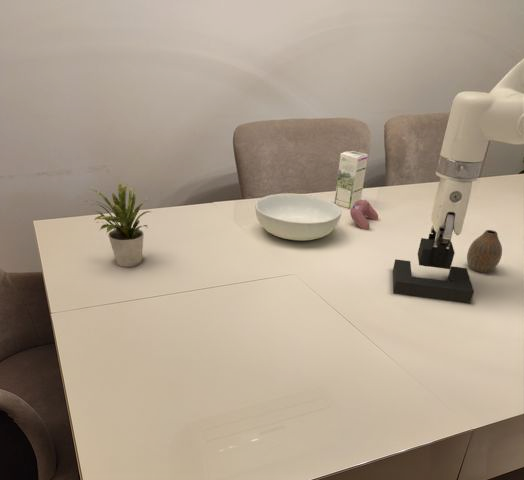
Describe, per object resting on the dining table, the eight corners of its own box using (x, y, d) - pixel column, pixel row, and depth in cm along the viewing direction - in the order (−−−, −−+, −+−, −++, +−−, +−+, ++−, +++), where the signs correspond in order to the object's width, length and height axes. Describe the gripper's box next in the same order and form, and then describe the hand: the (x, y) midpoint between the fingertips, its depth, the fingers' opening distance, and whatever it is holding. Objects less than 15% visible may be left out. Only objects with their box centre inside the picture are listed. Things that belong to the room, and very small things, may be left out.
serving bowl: (263, 252, 114) (265, 223, 110) (247, 220, 131) (248, 193, 127) (349, 248, 118) (354, 220, 114) (323, 218, 135) (326, 192, 131)
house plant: (88, 250, 110) (76, 174, 101) (151, 243, 115) (144, 171, 106) (96, 278, 100) (83, 196, 90) (164, 269, 104) (159, 191, 95)
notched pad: (462, 280, 107) (466, 268, 105) (469, 305, 98) (474, 291, 96) (392, 271, 109) (395, 259, 107) (392, 294, 100) (395, 281, 98)
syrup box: (360, 205, 146) (369, 153, 137) (349, 210, 142) (357, 156, 134) (344, 200, 149) (351, 149, 140) (333, 205, 145) (340, 152, 137)
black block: (447, 257, 104) (451, 241, 102) (450, 269, 99) (454, 252, 97) (417, 253, 104) (421, 237, 103) (419, 265, 100) (423, 248, 98)
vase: (493, 265, 114) (505, 228, 109) (498, 278, 109) (511, 239, 104) (462, 261, 115) (472, 224, 110) (465, 273, 110) (476, 235, 105)
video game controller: (364, 223, 138) (356, 198, 135) (379, 218, 135) (372, 193, 133) (353, 234, 130) (345, 208, 128) (369, 229, 128) (361, 203, 125)
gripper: (487, 183, 84) (458, 280, 94) (473, 159, 98) (448, 246, 108) (441, 178, 85) (417, 274, 95) (433, 155, 99) (413, 241, 109)
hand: (434, 258), depth 101 cm, fingers closed on black block, 6 cm apart
